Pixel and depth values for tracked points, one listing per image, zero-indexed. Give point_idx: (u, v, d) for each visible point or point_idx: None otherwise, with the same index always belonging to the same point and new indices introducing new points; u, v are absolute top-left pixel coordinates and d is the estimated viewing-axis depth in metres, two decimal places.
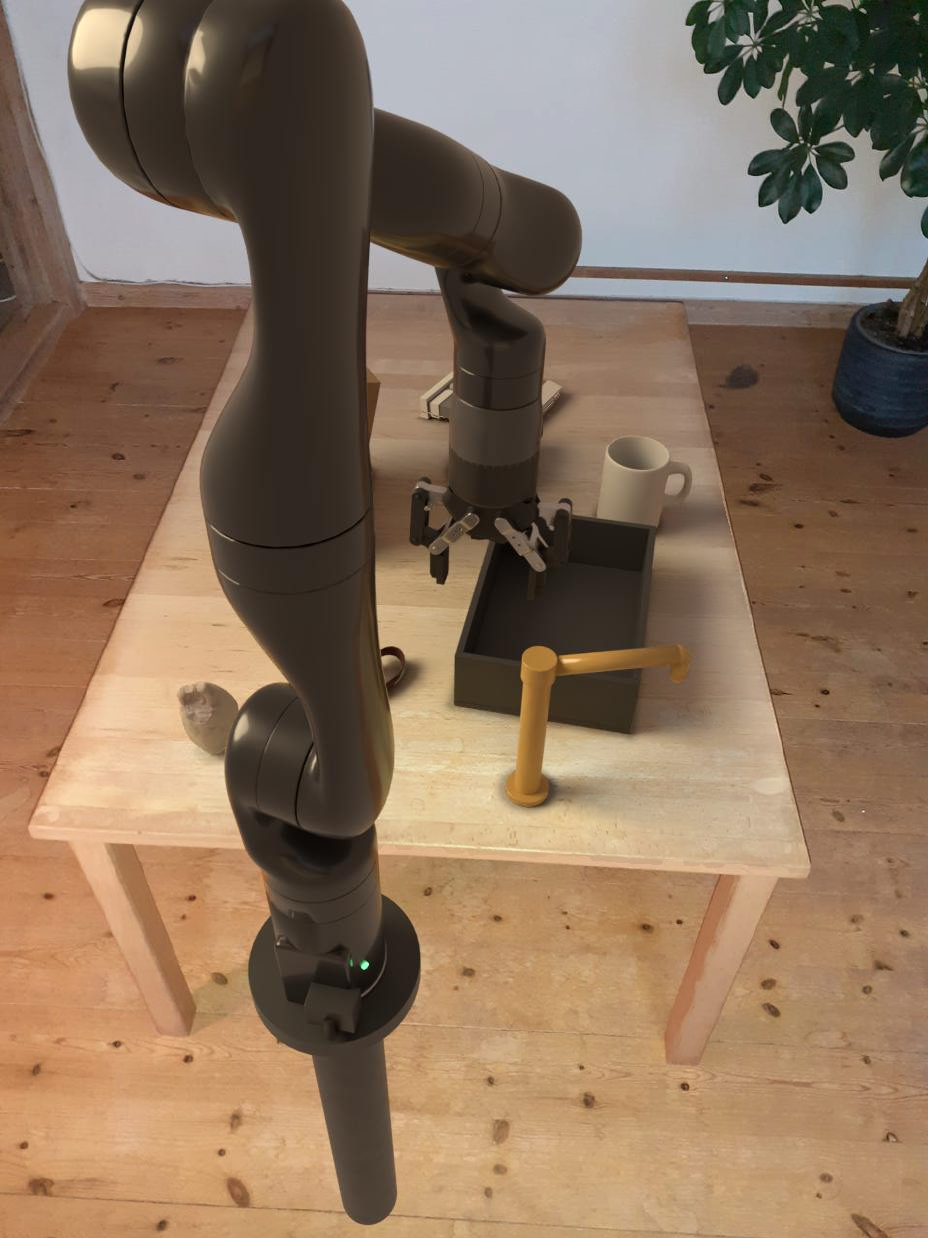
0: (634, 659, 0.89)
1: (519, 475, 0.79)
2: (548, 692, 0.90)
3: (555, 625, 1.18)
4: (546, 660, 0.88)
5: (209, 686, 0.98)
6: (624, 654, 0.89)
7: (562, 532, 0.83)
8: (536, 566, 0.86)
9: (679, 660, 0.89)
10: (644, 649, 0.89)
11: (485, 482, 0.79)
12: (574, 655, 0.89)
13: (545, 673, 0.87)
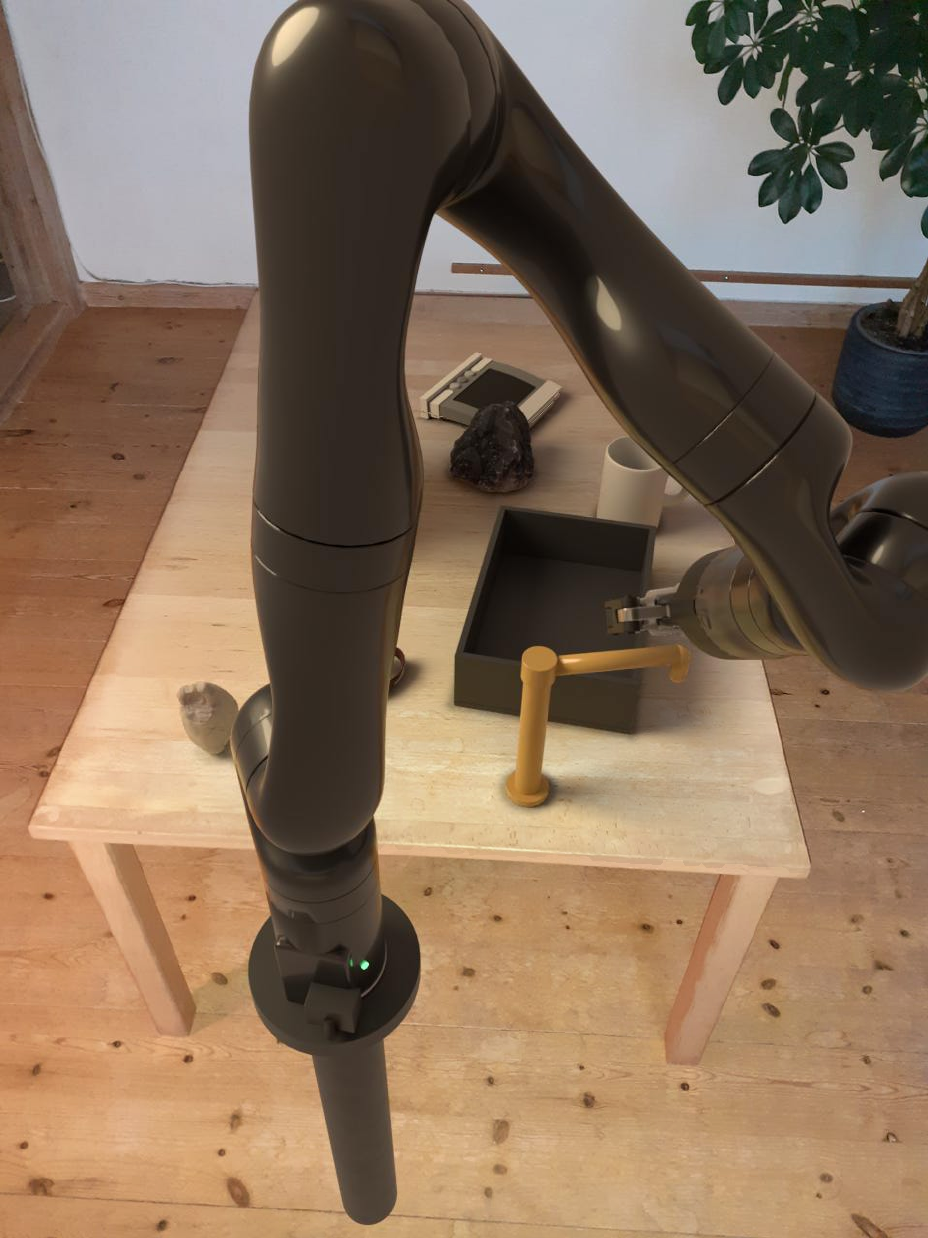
0: (634, 659, 0.89)
1: (702, 565, 0.64)
2: (548, 692, 0.90)
3: (555, 625, 1.18)
4: (546, 660, 0.88)
5: (209, 686, 0.98)
6: (624, 654, 0.89)
7: None
8: None
9: (679, 660, 0.89)
10: (644, 649, 0.89)
11: None
12: (574, 655, 0.89)
13: (545, 673, 0.87)
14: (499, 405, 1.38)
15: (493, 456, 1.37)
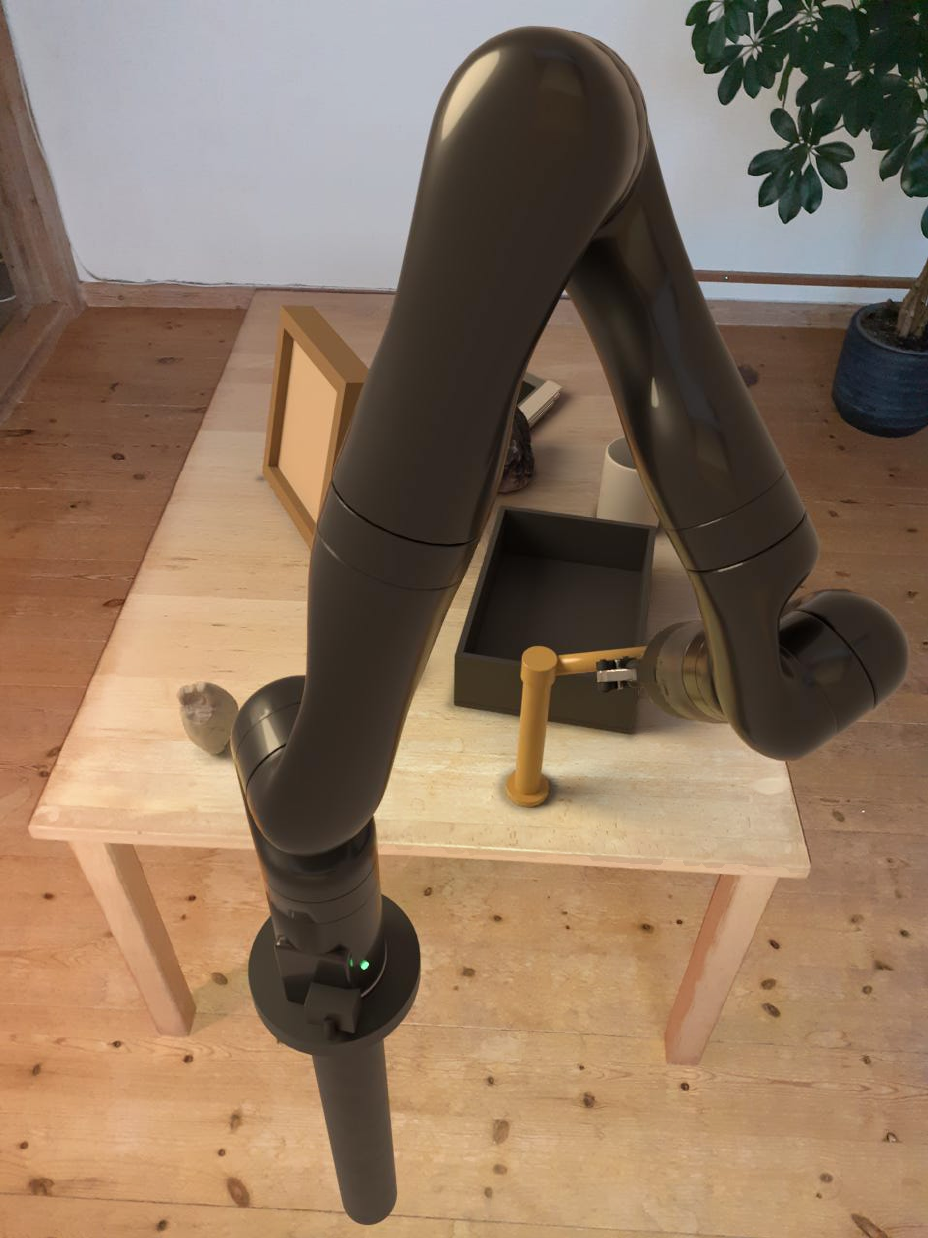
0: None
1: (663, 638, 0.73)
2: (548, 692, 0.90)
3: (555, 625, 1.18)
4: (546, 660, 0.88)
5: (209, 686, 0.98)
6: (624, 653, 0.89)
7: (607, 660, 0.81)
8: None
9: None
10: (643, 648, 0.89)
11: None
12: (574, 655, 0.89)
13: (545, 673, 0.87)
14: None
15: None
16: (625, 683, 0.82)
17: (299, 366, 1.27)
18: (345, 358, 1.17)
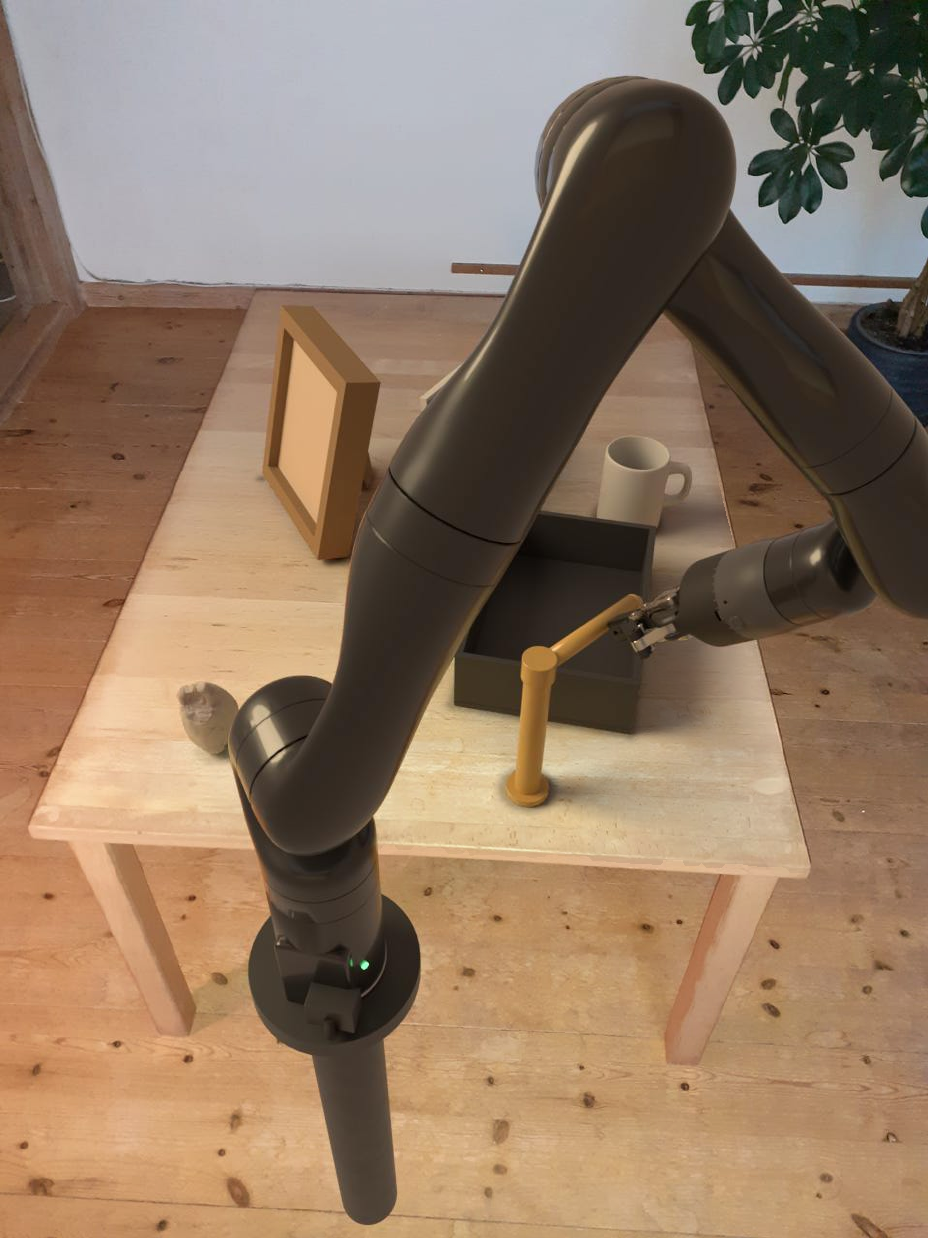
0: None
1: (703, 582, 0.78)
2: (548, 692, 0.90)
3: (555, 625, 1.18)
4: (546, 657, 0.88)
5: (209, 686, 0.98)
6: (598, 622, 0.92)
7: (629, 629, 0.84)
8: (635, 611, 0.88)
9: (638, 607, 0.95)
10: (609, 610, 0.93)
11: (711, 557, 0.79)
12: (562, 642, 0.90)
13: (553, 669, 0.87)
14: None
15: None
16: None
17: (299, 366, 1.27)
18: (345, 358, 1.17)
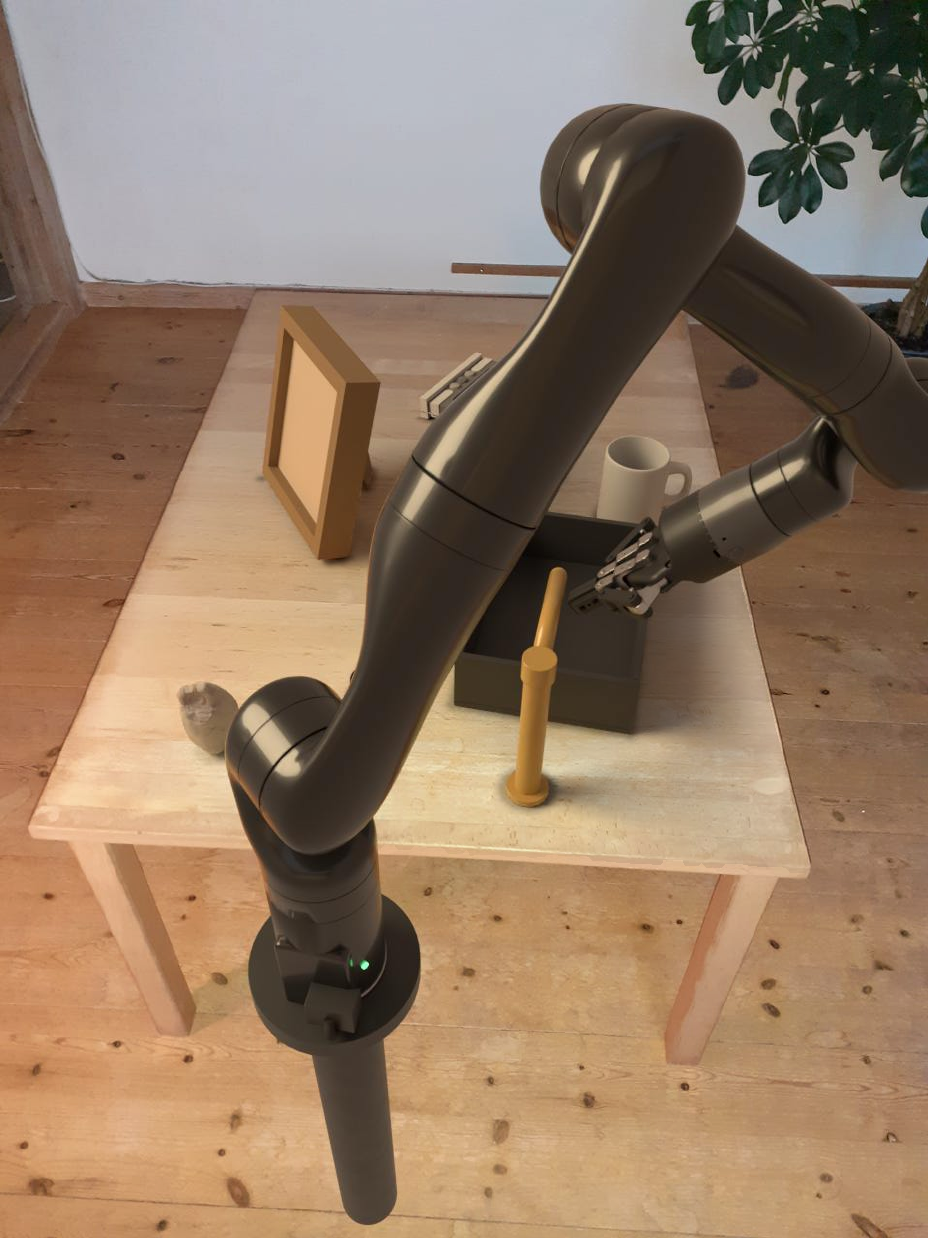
0: (559, 601, 0.94)
1: (691, 529, 0.83)
2: (548, 692, 0.90)
3: None
4: (544, 654, 0.88)
5: (209, 686, 0.98)
6: (553, 604, 0.94)
7: (622, 597, 0.86)
8: (599, 581, 0.91)
9: (566, 577, 0.98)
10: (552, 590, 0.95)
11: (681, 505, 0.84)
12: (541, 635, 0.90)
13: None
14: None
15: None
16: None
17: (299, 366, 1.27)
18: (345, 358, 1.17)
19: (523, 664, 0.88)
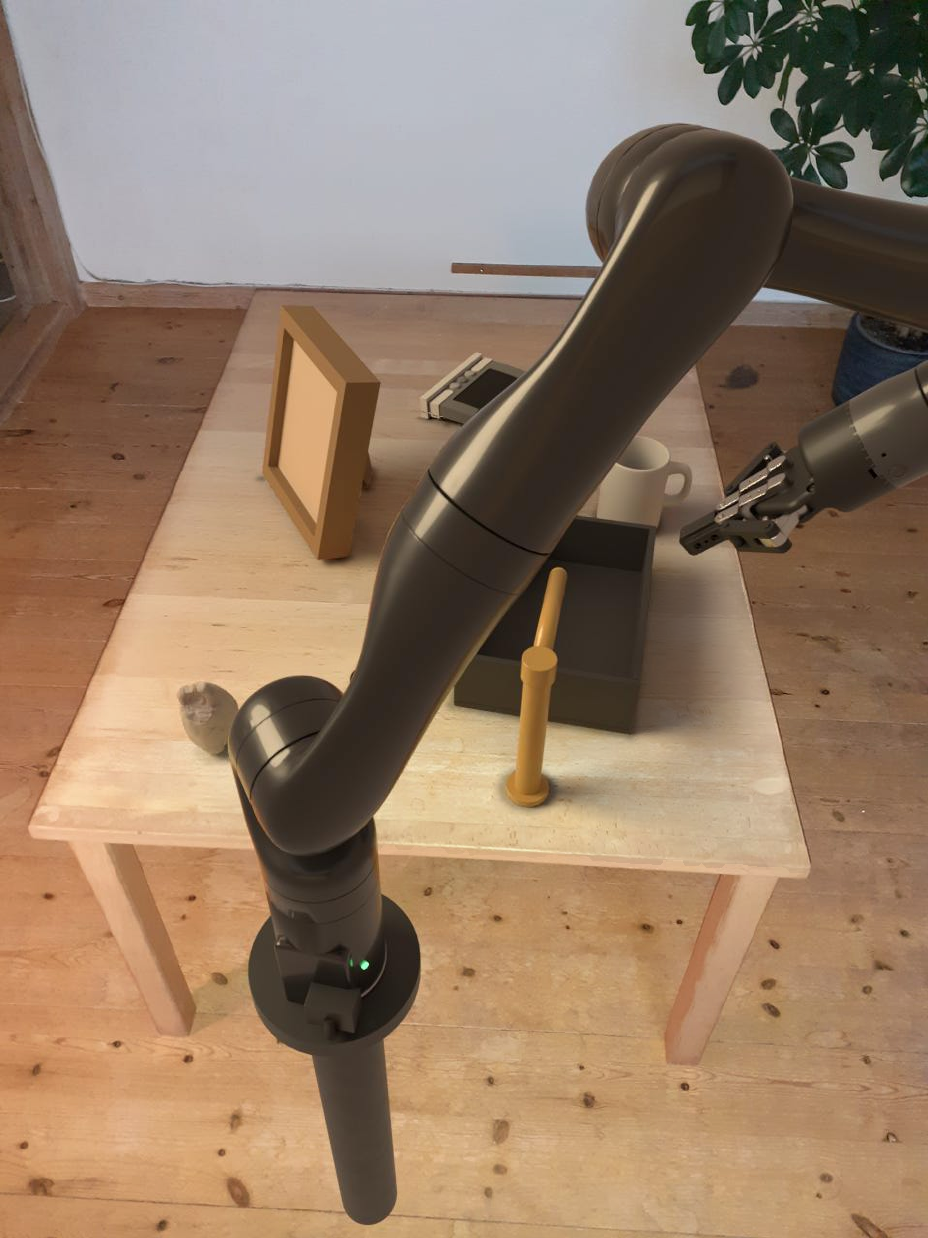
0: (559, 601, 0.94)
1: (842, 444, 0.71)
2: (548, 692, 0.90)
3: None
4: (544, 654, 0.88)
5: (209, 686, 0.98)
6: (553, 604, 0.94)
7: (754, 527, 0.75)
8: (720, 513, 0.80)
9: (566, 577, 0.98)
10: (552, 590, 0.95)
11: (827, 419, 0.72)
12: (541, 635, 0.90)
13: None
14: None
15: None
16: None
17: (299, 366, 1.27)
18: (345, 358, 1.17)
19: (523, 664, 0.88)
